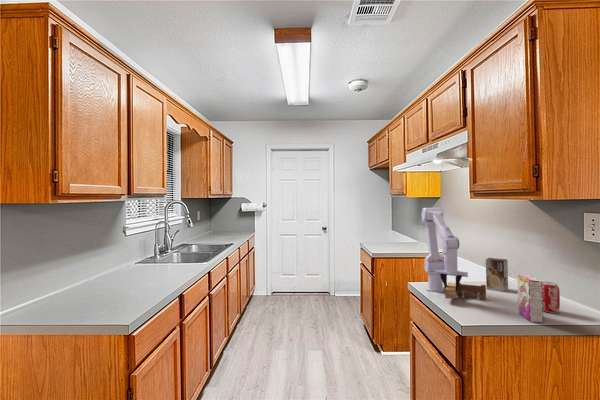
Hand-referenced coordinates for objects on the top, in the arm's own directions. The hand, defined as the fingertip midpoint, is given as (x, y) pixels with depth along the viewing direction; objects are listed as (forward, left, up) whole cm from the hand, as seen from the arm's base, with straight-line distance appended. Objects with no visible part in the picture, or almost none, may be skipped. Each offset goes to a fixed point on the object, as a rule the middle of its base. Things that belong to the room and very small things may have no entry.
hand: (451, 290), depth 167 cm
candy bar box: (+14, +31, -5) cm, 34 cm away
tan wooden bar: (0, 0, -2) cm, 2 cm away
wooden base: (-7, +8, -5) cm, 12 cm away
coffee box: (-30, +20, -5) cm, 36 cm away
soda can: (+1, +39, -5) cm, 39 cm away
